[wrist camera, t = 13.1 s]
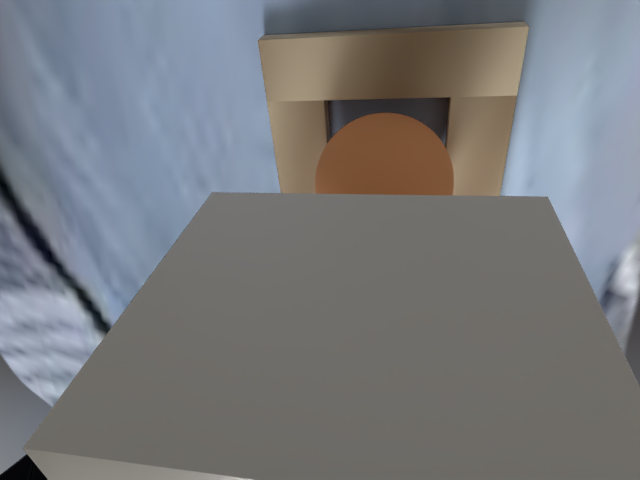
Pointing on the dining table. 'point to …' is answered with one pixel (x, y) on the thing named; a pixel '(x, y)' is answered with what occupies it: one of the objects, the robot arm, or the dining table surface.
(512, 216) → the matte white cube
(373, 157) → the ball
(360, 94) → the board
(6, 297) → the dining table surface
